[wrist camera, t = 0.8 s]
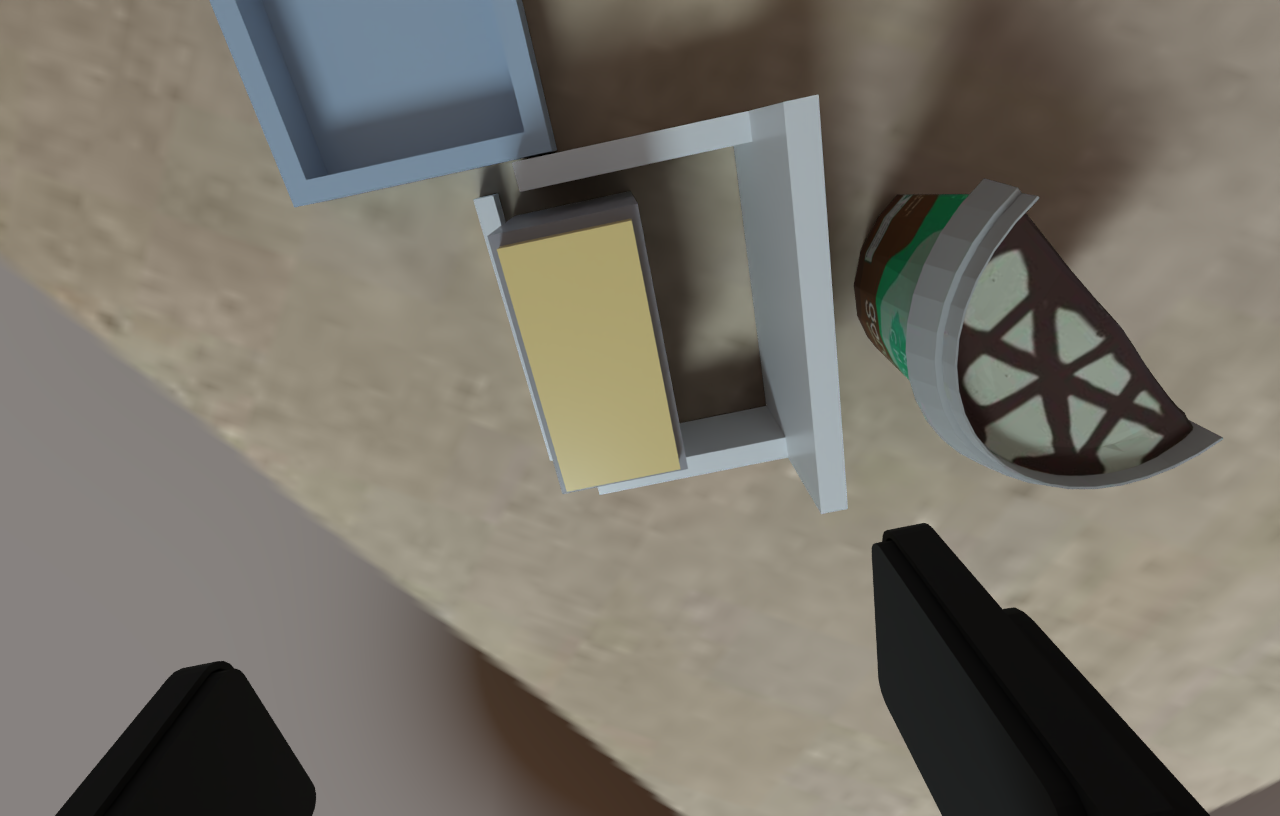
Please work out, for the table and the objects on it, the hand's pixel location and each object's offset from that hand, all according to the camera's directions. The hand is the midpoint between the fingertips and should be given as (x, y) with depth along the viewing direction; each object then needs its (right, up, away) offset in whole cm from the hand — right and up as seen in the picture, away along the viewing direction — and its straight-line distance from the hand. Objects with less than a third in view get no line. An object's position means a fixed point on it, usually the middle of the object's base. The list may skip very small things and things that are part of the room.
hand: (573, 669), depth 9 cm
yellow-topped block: (-1, +8, +19) cm, 20 cm away
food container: (+13, +8, +19) cm, 25 cm away
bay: (+1, +8, +18) cm, 20 cm away
